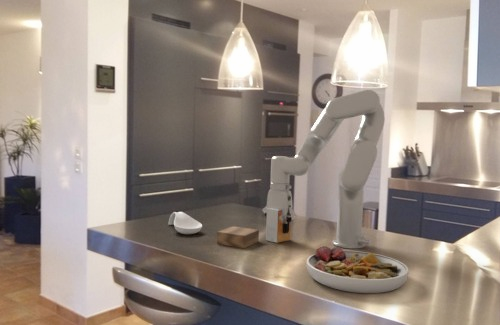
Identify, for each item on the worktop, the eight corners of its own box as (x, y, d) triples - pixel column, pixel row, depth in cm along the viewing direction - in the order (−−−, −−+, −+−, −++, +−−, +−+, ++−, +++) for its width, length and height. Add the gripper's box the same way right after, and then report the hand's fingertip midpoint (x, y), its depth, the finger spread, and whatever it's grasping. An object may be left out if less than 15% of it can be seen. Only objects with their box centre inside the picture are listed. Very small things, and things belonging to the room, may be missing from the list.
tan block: (258, 242, 185) (258, 229, 184) (244, 248, 174) (245, 235, 173) (232, 238, 190) (232, 226, 190) (216, 244, 179) (217, 231, 179)
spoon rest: (206, 235, 194) (207, 218, 193) (180, 237, 188) (180, 220, 187) (184, 224, 214) (184, 208, 213) (159, 226, 208) (160, 210, 207)
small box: (277, 243, 182) (278, 210, 181) (265, 240, 187) (266, 208, 186) (290, 240, 188) (291, 208, 187) (279, 237, 192) (279, 205, 191)
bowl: (423, 280, 143) (425, 255, 143) (378, 306, 121) (380, 276, 120) (338, 259, 163) (339, 237, 163) (286, 278, 141) (287, 253, 140)
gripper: (303, 188, 183) (301, 233, 184) (268, 184, 194) (266, 226, 195) (292, 190, 177) (290, 236, 179) (256, 185, 188) (255, 229, 190)
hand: (278, 231), depth 187 cm, fingers closed on small box, 6 cm apart
